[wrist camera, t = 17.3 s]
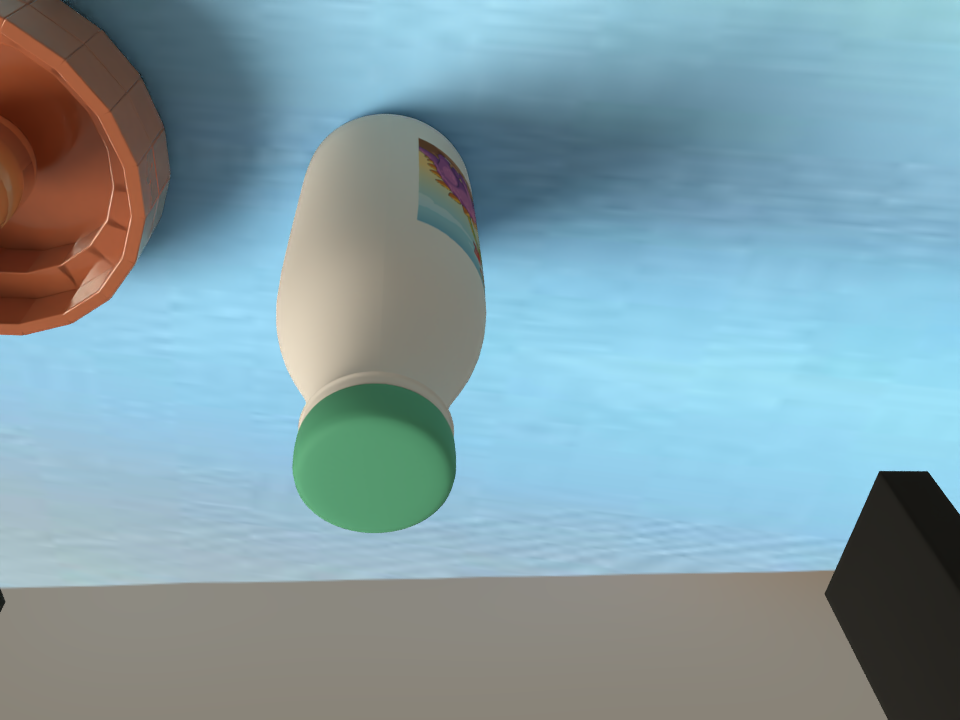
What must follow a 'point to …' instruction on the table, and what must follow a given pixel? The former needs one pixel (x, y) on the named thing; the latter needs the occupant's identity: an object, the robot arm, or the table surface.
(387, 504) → the milk bottle
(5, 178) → the brown egg
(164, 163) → the bowl
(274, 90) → the table surface
